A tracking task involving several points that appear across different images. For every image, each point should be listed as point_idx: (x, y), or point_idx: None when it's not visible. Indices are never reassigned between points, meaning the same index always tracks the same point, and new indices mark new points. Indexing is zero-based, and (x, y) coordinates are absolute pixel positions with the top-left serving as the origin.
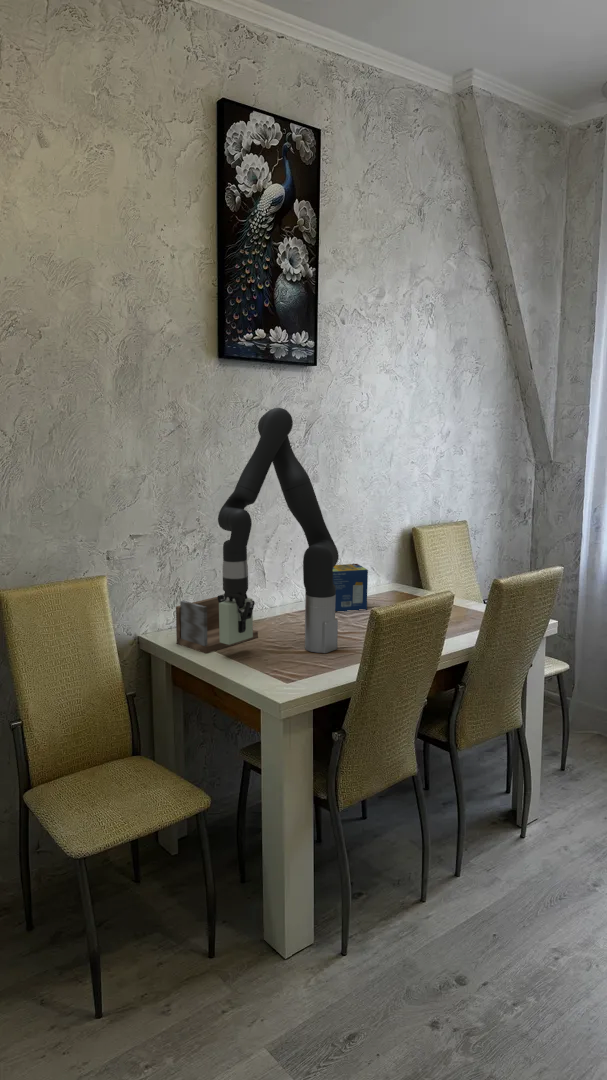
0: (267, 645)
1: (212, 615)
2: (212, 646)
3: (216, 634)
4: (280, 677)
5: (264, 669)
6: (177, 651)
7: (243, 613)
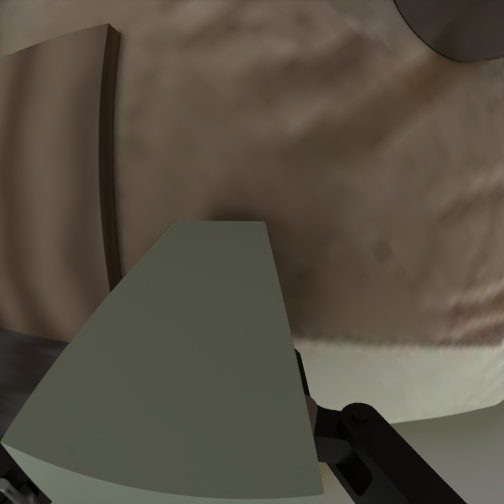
0: (246, 79)
1: None
2: None
3: (12, 215)
4: (481, 333)
5: (425, 326)
6: None
7: (346, 490)
